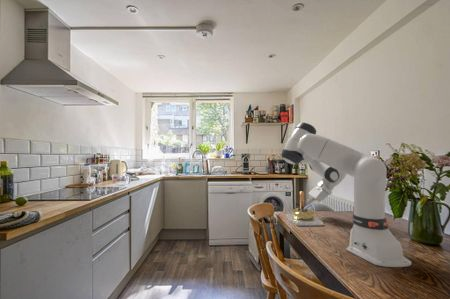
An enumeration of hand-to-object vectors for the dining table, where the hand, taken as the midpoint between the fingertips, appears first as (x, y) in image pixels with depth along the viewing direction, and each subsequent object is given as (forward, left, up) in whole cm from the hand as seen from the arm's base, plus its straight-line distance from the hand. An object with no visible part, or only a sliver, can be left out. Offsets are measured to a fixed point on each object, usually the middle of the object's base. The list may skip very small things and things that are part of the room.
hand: (307, 202), depth 152 cm
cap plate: (-7, +6, -9) cm, 13 cm away
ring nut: (-6, +5, -7) cm, 11 cm away
